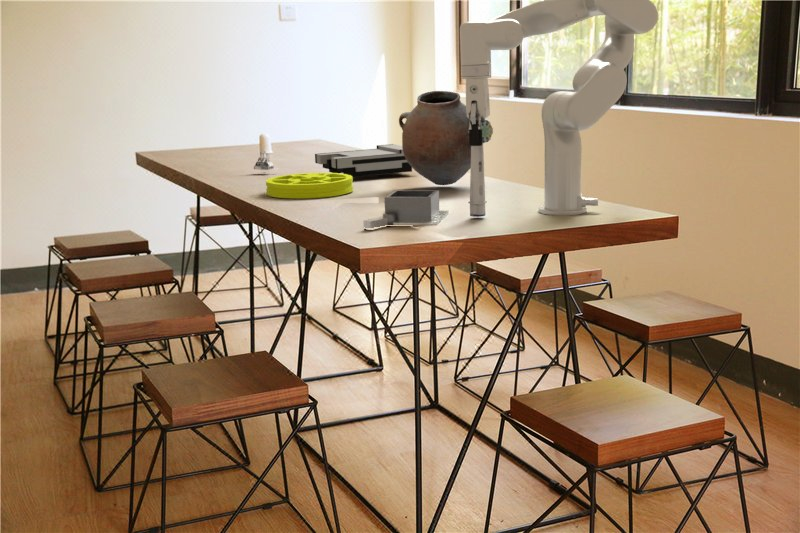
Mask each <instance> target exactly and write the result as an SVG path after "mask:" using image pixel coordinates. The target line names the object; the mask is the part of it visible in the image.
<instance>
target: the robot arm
mask: <svg viewBox="0 0 800 533" xmlns="http://www.w3.org/2000/svg"><path fill="white" fill-rule="evenodd" d="M596 16H597V17H598V16H604V29H605V31H604V32H605V33H604V34H605V36H604V40H603V42H602V43H601V46H600V47H599V48H597V51H595V52H594V54H592V55H591V56H590V58H589V59H588V60H587V61H585V63H583V65H582V66H581V67H580V68H579V69H578V70H577V71H576V73H574V76H573V79H572V89H573V91H567V90H566V91H565V90H562V91H561V90H560V91H555V92H553V93H550V94H549V95H548V96H547V97H546V98H545V100H544V101H543V103H542V106H541V121H542V128H543V134H544V196H543V197H544V205H541V206H539V207H538V212H539V213H540V214H542V215H547V216H559V217H560V216H561V217H562V216H578V215H583V214H585V213H586V212H587V209H588V208H587V207H586V206H591V207H598V206H599V198H593V197H588V198H587V197H585V196H583V193H582V190H581V189H582V139H581V138H582V136H581V132H580V131H586V130H588V129H590V128H592V127H593V126H595V125H596V124H597V123H598V122H599V121H600V119H601V118H602V117H604V116H605V114H607V113H608V112H609V110H610V109H611V108H612V107H613V106H614V105H615V104H616V103H617V102H618V101H619V99H621V97H622V95H623V94H624V92H625V90H626V88H627V81H628V77H627V74H626V71H625V68H626V67H627V66H628V65H629V63H630V62H631V61H632V58H633V55H634V51H635V50H634V48H635V44H634V43H635V39H634V35H643V34H647V33H649V32H651V30H653V29H654V28H655V27H656V25H657V23H658V20H659V11H658V8H657V7H656V5H655V4H654V3H653V2H652V1H651V0H538V1H536V2H533V3H531V4H528V5H526V6H523V7H520V8H516V9H514V10H511V11H510V12H509V11H508V12H506V13H504V14H501V15H499V16H496V17H494V18H491V19H488V20H487V21H486V20H473V21H472V20H471V21H470V20H469V21H464V22H462V23H461V24H460V25H459V26H460V27H459V45H460V46H459V47H460V48H459V49H460V50H459V51H460V76H461V78H460V79H461V80H465V106H466V112H467V118H469V119H470V124H469V129H470V130H469V145H470V146H482V129H481V118H484V119H485V120H486V119H487V118H488V117H489V116H491V107H490V106H491V105H490V90H489V78H492V51H510V50H514V49H515V48H517V47H519V45H521V44H522V42H523V40H524V39H525V38H530V37H532V36H539V35H546V34H551V33H555V32H558V31H560V30H563V29H565V28H568V27H570V26H572V25H575V24H577V23H579V22H580V23H581V22H582V21H585V20H588V19H589V18H593V17H596Z"/></svg>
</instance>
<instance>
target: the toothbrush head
mask: <svg viewBox="0 0 800 533" xmlns="http://www.w3.org/2000/svg"><path fill="white" fill-rule="evenodd" d="M481 129H482V146H471V168H470V177H469V178H470V180H469V182H470V183H469V201H468V204H469V216H470V217H473V218H474V217H475V218H480V217H485V216H486V204H487V200H486V187H485V186H486V185H485V161H484V160H485V157H484V144H485V143H488V142H489V141H491V140H492V135H493V134H494V127H492V124H491V121H489V120H487V119H486V118H485V119H484V118H481ZM469 130H470V129H469Z"/></svg>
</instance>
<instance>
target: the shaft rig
mask: <svg viewBox="0 0 800 533" xmlns="http://www.w3.org/2000/svg"><path fill="white" fill-rule="evenodd" d="M448 215H449V210H440V190H438V189H437V190H436V189H435V190H434V189H431V190H429V189H427V190H426V189H425V190H424V189H423V190H422V189H420V190H419V189H414V190H413V189H408V190H407V189H396V190H395V189H394V190H393V191H391V192H390V193H389V194H387V195H386V196H384V213H382V216H377V217H373V218H370V219H369V218H368V219H365V220H363V228H364V227H365V228H374V227H380V226H385V225H414V226H438V225H439V224H440V223H441V222H442V221H443V220H444V219H445V218H446V217H447V216H448Z"/></svg>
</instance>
